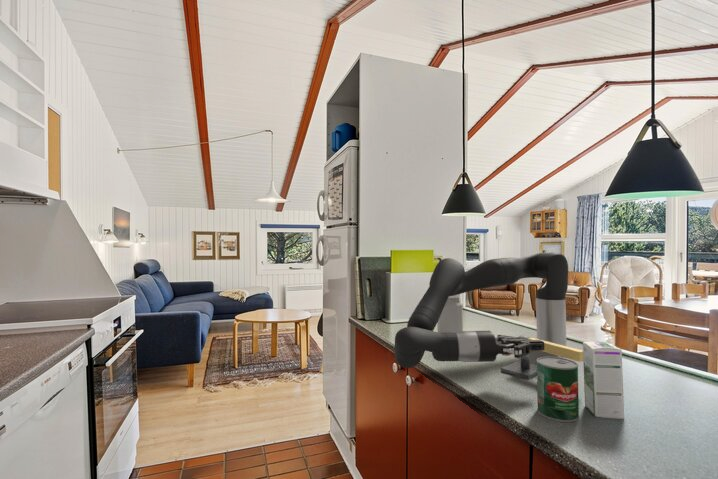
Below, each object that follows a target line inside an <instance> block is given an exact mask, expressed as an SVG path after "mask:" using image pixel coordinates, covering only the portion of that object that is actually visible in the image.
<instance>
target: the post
mask: <svg viewBox="0 0 718 479" xmlns="http://www.w3.org/2000/svg"><path fill="white" fill-rule="evenodd" d="M530 355H531V353H530V354H528V355H525V356H523V357H520V358H519V360H518V361H516V362H513V363H510V364H507V365H506V366H503V367H501V368H500V372H502V373H505V374H508V375H512V376H516V377H520V378H524V379H527V380H530V379H532V378H534V377H537V364H533V363H530V362H531V361H530V359H531V358H530Z"/></svg>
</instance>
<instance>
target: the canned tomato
mask: <svg viewBox="0 0 718 479" xmlns="http://www.w3.org/2000/svg"><path fill="white" fill-rule="evenodd" d="M536 365H537V376H536V381H537V382H536V384H537V385H536V387H537V389H536V390H537V391H536V392H537V396H536V397H537V408H536V409H537V413H538V414H539V415H540V416H542V417H543V418H545V419H548V420H551V421H556V422H562V423H573V422H577V421H578V420H579V419H580V414H579V412H580V407H579V406H580V405H579V404H580V403H579V364H578V363H577V361H575V360H571V359H568V358H564V357H560V356H541V357H538V358H536Z"/></svg>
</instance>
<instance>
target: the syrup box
mask: <svg viewBox="0 0 718 479" xmlns="http://www.w3.org/2000/svg"><path fill="white" fill-rule="evenodd" d="M582 350H583V361H582V362H583V386H584V388H583V389H584V406H585V407H586V408H587V410H588V411H590V413H591V414H592V415H593V416H594V417H597V418H604V419H616V420H617V419H618V420H624V419H625V399H624V398H625V396H624V394H625V393H624V377H623V375H624V374H623V373H624V372H623V355H622V354H623V353H622V352H623V351H622V348H620V347H618V346H616V345H615V344H612V343H610V342H606V341H582Z"/></svg>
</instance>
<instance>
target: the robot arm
mask: <svg viewBox="0 0 718 479" xmlns="http://www.w3.org/2000/svg"><path fill="white" fill-rule="evenodd" d="M529 278H535V279H536V278H538V279H546V280H545V285H544V286H543V287H541V288H538V289H536V291H535V308H536V309H535V310H536V312H535V313H536V339H540V340H527V341H526V339H521V338H519V336H511V335H510V336H509V335H505V334H504V335H502V334H497V337H496V336H495V334H494V332H492V331H491V330H463V331H461V332H445V333H438V331H434V330H435V328H436V327H437V322H438V320H439V318H440V316H441V313H442V311H443V308H444V306H445V304H446V302H447V299H448V297H449V296H454V295H458V294H465V293H467V292H468V293H469V292H472V291H477V290H483V289H487V288H494V287H503V286H509V285H512V284H515V283H517V282H518V281H520V280H522V279H529ZM568 284H569V263H568V260H567V258H566V256H565V255H564V254H562V253H559V252H539V253H534V254H531V255H528V256H524V257H523V256H522V257H500V258H492V259H488V260H485V261H483V262H481V263H479V264H477V265H475V266H474V267H472V268H470V269H469V270H466V271H465V267H464V265H463V264H462V263H461V262H460V261H459V260H457V259H454V258H451V257H447V258H443V259H441V260H439V262H437V263H436V264H435V267H434V270H433V272H432V274H431V277H430V279H429V287H428V288H427V290H426V291H425V293H424V294H423V296H422V298H421V299H420V301H419V302H418V304H417V305H416V307H415V308H414V310H413V312H412V313H411V314H410V316H409V317H408V318H409V319H408V321H407V324H406V327H403V328H401V329H399V330H397V331H396V334H395V337H394V350H393V351H394V353H393V354H394V359H395V361H396V363H397V364H398V365H399V366H400V367H402V368H404V369H412V368H415V367H417V365H418V364H420V363H421V361H422V359H423V357H424V355H425V352H430V353H431V355H432V357H433V359H434V360H435V361H437V362H463V363H478V362H479V363H484V362H485V363H487V362H488V363H489V362H495V361H496V360H497V356H498V355H501V356H504V357H508V356H511V355H513V356H514V358H515V359H520V357H523V356H525V355H528V354H530V355H531V351H540V350H544V342H543V341H547V342H551V343H555V344H559V345H563V346H567V311H566V309H567V308H566V306H567V305H566V302H567V301H566V295H567V292H568V287H569V285H568ZM541 340H543V341H541Z"/></svg>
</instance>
